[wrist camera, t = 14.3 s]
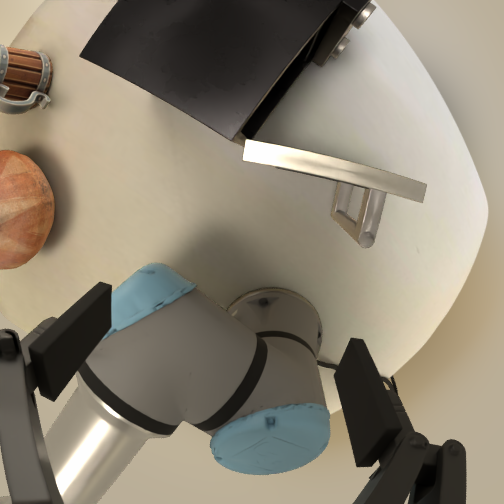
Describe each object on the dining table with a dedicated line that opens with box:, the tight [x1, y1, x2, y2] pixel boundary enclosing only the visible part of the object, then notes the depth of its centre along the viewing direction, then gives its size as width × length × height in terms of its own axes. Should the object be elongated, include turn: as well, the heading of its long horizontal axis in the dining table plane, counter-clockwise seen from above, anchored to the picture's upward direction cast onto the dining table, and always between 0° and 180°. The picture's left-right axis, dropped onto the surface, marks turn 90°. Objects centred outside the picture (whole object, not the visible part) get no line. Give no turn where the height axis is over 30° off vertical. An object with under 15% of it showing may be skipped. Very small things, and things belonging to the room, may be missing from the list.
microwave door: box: [242, 139, 427, 248], centre depth 30 cm, size 7×15×18 cm, turn 80°
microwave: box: [79, 0, 376, 147], centre depth 26 cm, size 18×20×18 cm
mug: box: [0, 45, 53, 114], centre depth 28 cm, size 16×11×15 cm
